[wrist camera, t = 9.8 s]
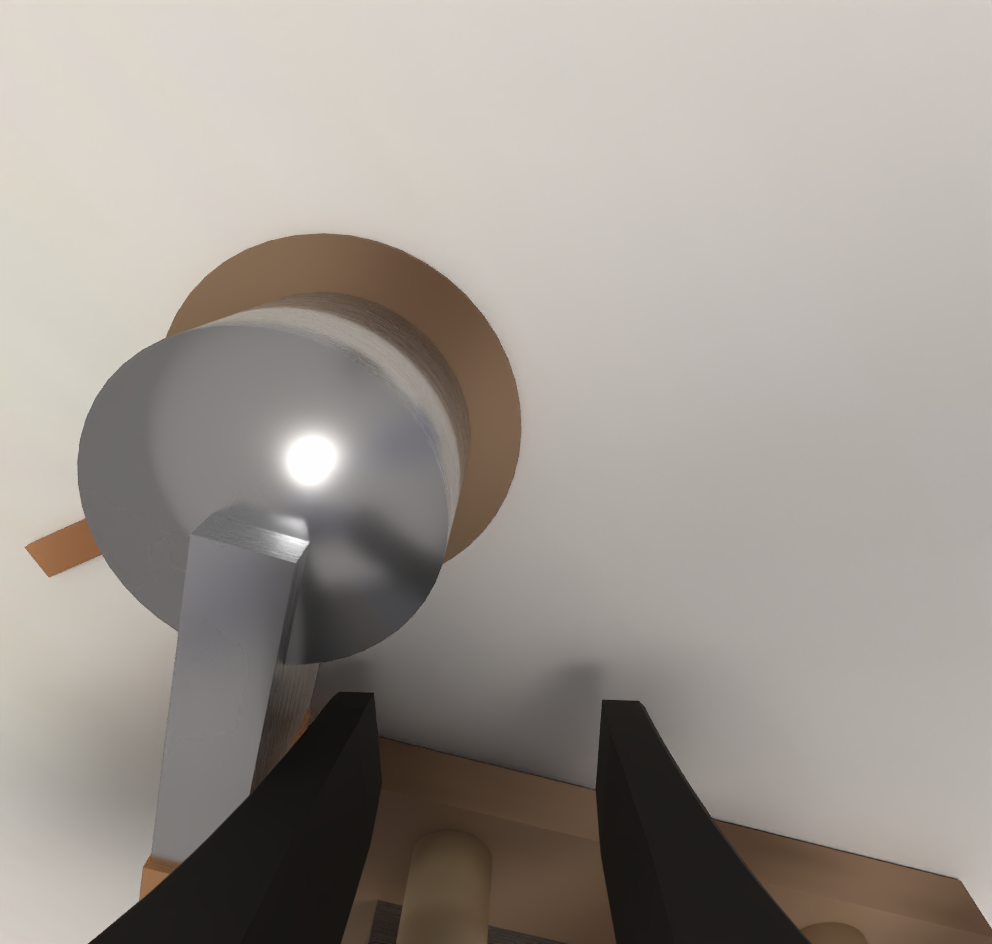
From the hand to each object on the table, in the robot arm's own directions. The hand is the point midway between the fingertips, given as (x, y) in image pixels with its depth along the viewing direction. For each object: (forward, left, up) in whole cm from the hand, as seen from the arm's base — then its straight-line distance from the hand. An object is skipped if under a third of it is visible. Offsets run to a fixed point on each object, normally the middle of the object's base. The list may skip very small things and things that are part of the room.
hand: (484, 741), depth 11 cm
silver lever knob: (+4, -2, -1) cm, 4 cm away
